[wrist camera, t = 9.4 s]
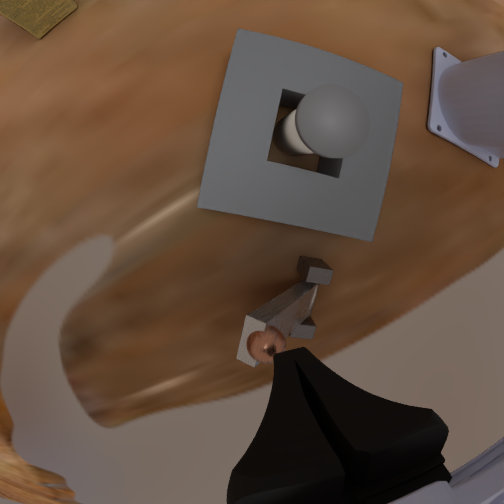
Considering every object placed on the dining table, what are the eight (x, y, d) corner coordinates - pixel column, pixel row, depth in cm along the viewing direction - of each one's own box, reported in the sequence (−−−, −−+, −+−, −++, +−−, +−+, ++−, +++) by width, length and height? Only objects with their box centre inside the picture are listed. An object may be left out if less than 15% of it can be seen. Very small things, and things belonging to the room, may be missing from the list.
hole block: (373, 94, 18) (403, 82, 14) (345, 228, 21) (372, 241, 17) (234, 53, 17) (237, 28, 13) (201, 199, 19) (197, 207, 15)
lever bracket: (321, 259, 21) (333, 270, 19) (303, 322, 22) (312, 339, 20) (300, 255, 21) (310, 266, 19) (283, 320, 22) (290, 337, 20)
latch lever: (305, 276, 21) (334, 286, 20) (297, 307, 22) (324, 317, 21) (238, 317, 13) (282, 336, 12) (228, 361, 14) (268, 381, 13)
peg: (320, 120, 19) (375, 100, 11) (309, 165, 19) (360, 167, 12) (274, 106, 18) (308, 73, 11) (262, 152, 19) (290, 145, 12)
